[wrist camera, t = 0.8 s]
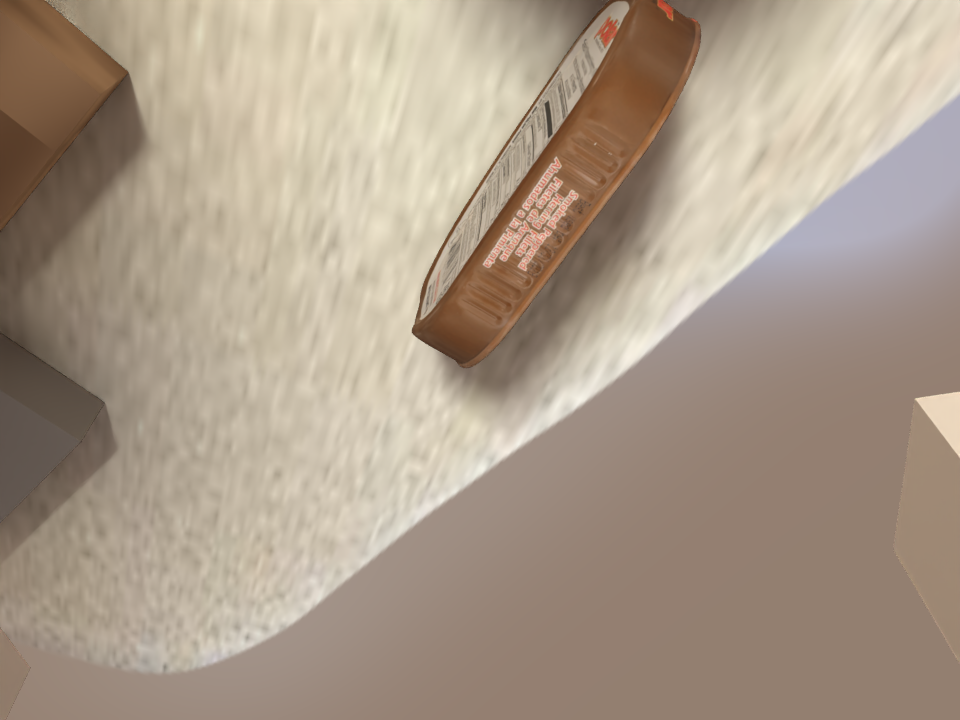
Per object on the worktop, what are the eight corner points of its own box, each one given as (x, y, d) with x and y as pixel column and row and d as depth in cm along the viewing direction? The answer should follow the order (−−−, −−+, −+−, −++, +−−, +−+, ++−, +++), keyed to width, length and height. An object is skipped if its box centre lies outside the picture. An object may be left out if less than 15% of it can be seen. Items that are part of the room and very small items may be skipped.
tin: (465, 305, 39) (466, 416, 31) (404, 271, 38) (391, 379, 31) (679, 4, 32) (741, 59, 25) (611, -46, 31) (656, -4, 24)
